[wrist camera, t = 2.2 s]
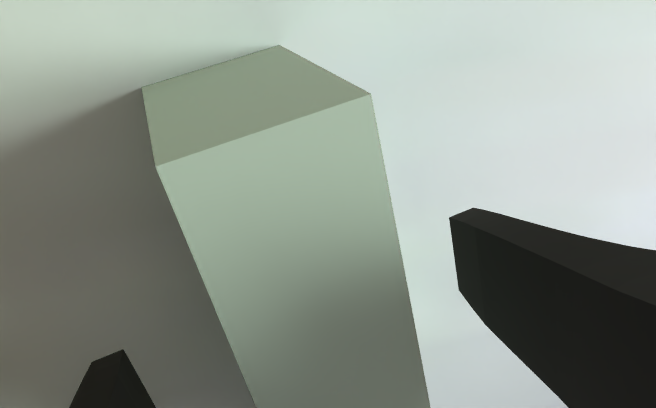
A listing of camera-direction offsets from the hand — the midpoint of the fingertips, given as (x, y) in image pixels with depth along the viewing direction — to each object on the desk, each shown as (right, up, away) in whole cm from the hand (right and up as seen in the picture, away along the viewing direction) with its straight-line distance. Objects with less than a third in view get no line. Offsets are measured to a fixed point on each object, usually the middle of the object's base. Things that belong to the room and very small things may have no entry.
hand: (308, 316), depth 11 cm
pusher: (-1, +1, +2) cm, 3 cm away
